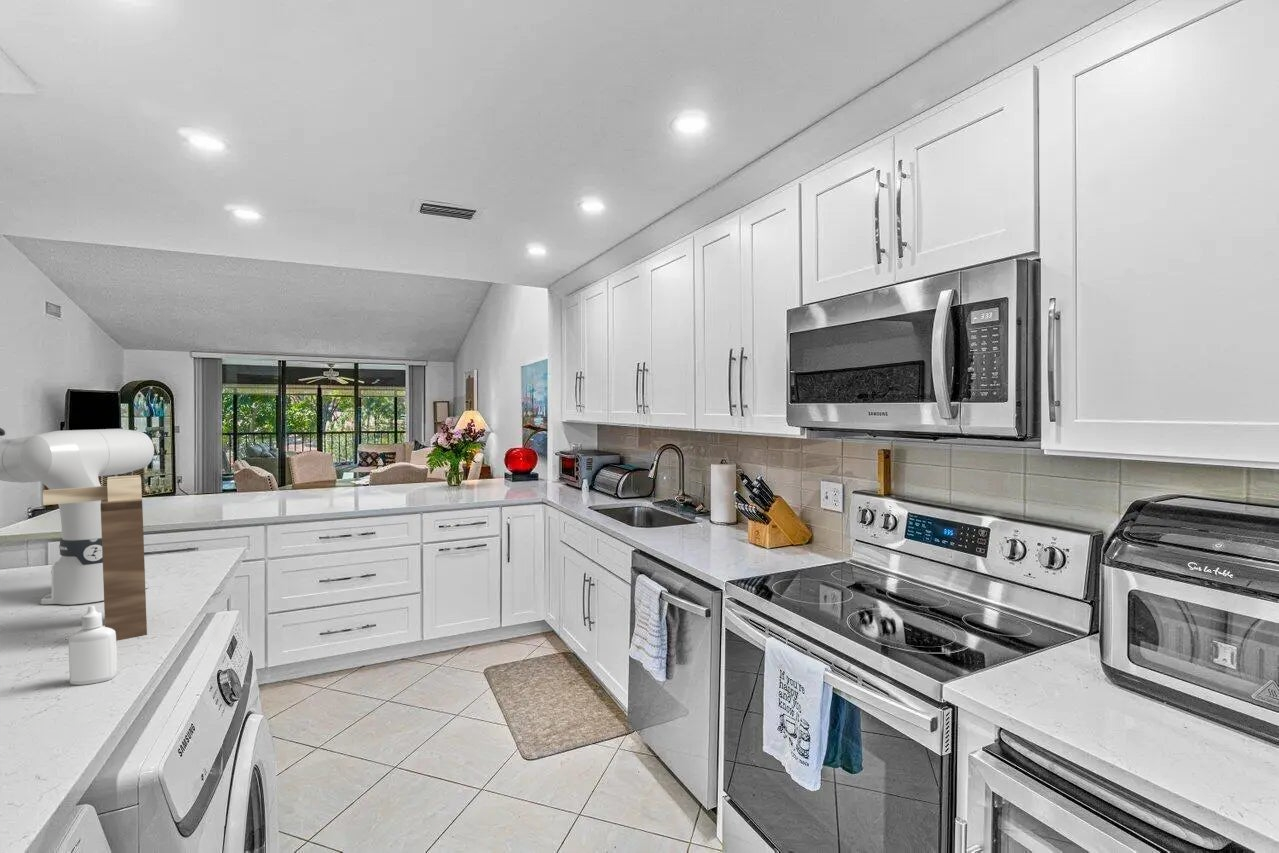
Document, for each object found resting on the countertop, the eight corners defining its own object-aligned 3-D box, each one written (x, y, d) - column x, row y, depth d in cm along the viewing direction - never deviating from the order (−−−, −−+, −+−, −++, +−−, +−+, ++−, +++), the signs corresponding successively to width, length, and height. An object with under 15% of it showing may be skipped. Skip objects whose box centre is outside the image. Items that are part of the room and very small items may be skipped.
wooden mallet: (45, 501, 116) (45, 480, 116) (140, 494, 125) (140, 475, 125) (41, 506, 110) (40, 484, 110) (141, 498, 119) (141, 478, 119)
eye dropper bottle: (93, 687, 95) (90, 611, 95) (65, 684, 96) (62, 609, 96) (122, 675, 99) (119, 602, 99) (94, 673, 100) (92, 600, 100)
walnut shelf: (106, 622, 124) (102, 496, 124) (144, 616, 128) (140, 493, 127) (105, 642, 114) (100, 503, 113) (146, 634, 118) (142, 500, 117)
